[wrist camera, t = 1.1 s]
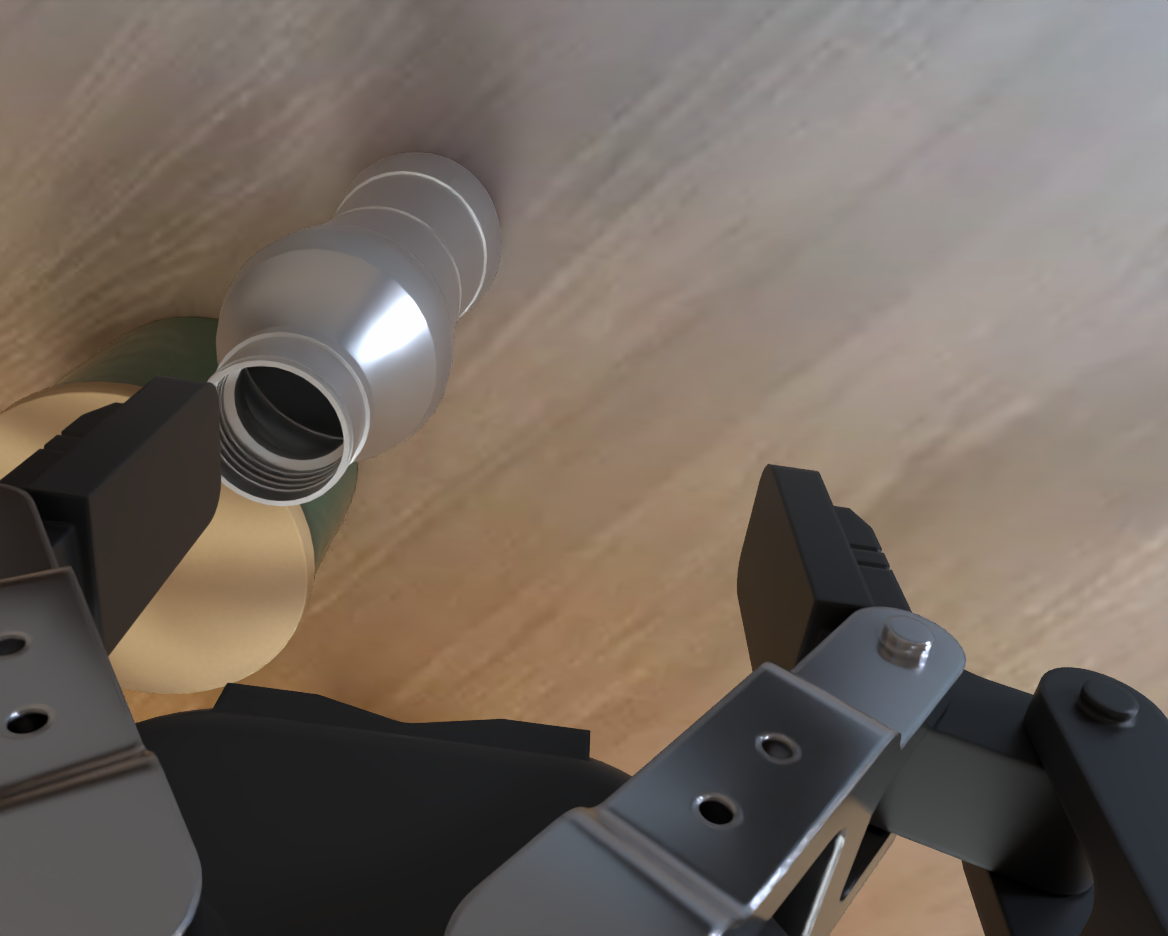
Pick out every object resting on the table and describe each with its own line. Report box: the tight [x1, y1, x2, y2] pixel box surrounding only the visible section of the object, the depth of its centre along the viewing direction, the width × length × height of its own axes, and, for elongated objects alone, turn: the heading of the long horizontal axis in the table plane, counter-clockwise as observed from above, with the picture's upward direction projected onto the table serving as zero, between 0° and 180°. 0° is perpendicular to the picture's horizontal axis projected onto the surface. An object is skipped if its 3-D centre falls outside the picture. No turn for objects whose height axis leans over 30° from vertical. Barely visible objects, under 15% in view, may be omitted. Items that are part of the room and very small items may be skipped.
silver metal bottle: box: [207, 152, 502, 506], centre depth 30 cm, size 6×7×20 cm
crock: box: [0, 317, 357, 694], centre depth 40 cm, size 14×14×9 cm
